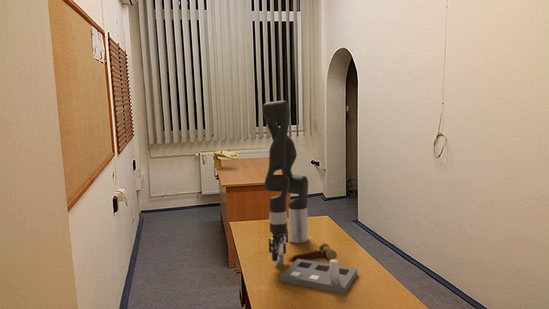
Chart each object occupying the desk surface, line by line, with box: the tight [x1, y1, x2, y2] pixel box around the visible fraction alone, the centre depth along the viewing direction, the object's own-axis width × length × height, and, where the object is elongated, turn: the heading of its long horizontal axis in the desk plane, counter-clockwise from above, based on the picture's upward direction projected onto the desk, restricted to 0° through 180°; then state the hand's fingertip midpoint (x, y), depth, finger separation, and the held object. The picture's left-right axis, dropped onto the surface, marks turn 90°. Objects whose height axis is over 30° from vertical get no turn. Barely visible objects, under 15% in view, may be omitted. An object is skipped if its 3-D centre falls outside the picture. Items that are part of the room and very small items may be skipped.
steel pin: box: [274, 242, 285, 268], centre depth 175 cm, size 4×4×10 cm
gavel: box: [288, 242, 338, 262], centre depth 183 cm, size 21×5×10 cm
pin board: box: [279, 258, 358, 295], centre depth 162 cm, size 18×26×10 cm
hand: (279, 257), depth 175 cm, fingers open, 8 cm apart
